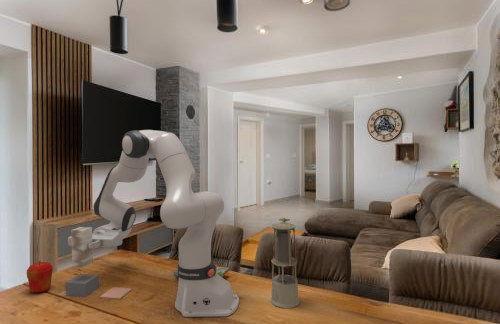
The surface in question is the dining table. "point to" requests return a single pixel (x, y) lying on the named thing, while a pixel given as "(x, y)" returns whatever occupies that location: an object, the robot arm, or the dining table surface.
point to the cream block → (81, 247)
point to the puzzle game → (219, 271)
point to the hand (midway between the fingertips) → (80, 246)
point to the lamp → (283, 284)
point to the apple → (39, 276)
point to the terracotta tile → (116, 293)
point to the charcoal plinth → (82, 285)
